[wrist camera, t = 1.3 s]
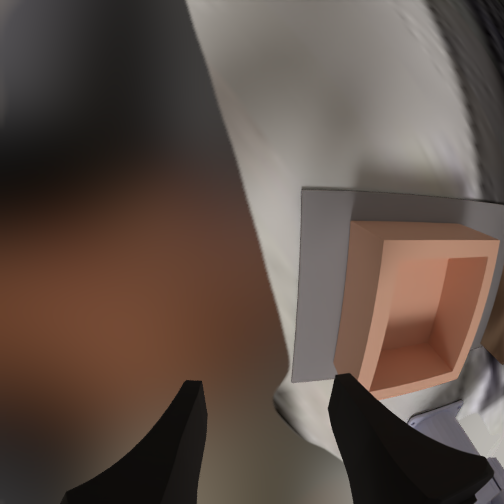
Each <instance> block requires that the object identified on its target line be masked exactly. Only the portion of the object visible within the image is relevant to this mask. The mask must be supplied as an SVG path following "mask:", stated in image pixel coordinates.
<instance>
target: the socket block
mask: <svg viewBox="0 0 504 504" xmlns="http://www.w3.org/2000/svg"><path fill="white" fill-rule="evenodd" d="M499 243H500V240H498V239H496V238H493V237H491V236H489V235H486V234H484V233H481V232H479V231H476V230H474V229H471V228H469V227H466V226H463V225H461V224H455V223H430V222H397V221H351V223H350V237H349V250H348V261H347V271H346V280H345V289H344V297H343V305H342V312H341V319H340V326H339V333H338V339H337V345H336V351H335V357H334V362H333V364H334V366H335V368H336V371H337V373H338V374H345V373H350V374H352V375H353V376H354V377H355V378H356V379H357V380H358V381H359V382H360V383H361V384H362V385H363V386H364V387H365V388H366V389H367V390H368V391H369V392H370V393H371V394H372V395H373V396H374V397H375V398H376V399H377V400H382V399H386V398H391V397H395V396H399V395H403V394H407V393H411V392H415V391H419V390H422V389H426V388H429V387H433V386H436V385H439V384H443V383H446V382H449V381H452V380H455V379H457V378H458V376H459V374H460V372H461V369H462V367H463V365H464V362H465V360H466V358H467V355H468V353H469V350H470V348H471V345H472V343H473V340H474V337H475V334H476V332H477V329H478V326H479V323H480V320H481V317H482V314H483V310H484V307H485V304H486V300H487V297H488V293H489V289H490V286H491V282H492V278H493V273H494V269H495V264H496V260H497V254H498V249H499Z"/></svg>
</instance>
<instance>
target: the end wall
mask: <svg viewBox="0 0 504 504" xmlns="http://www.w3.org/2000/svg"><path fill="white" fill-rule="evenodd" d="M480 344H481V345H482V346H483V347H484V348H485V349H487V350H488V351H489V352H490V353H491V354H492V355H493V356H494V357H495V358H496V359H497V360H498V361H499V362H500V363H501V364H502V365H503V364H504V266H503V271H502V275H501V279H500V283H499V287H498V291H497V294H496V298H495V301H494V305H493V308H492V311H491V314H490V317H489V320H488V323H487V326H486V329H485V332H484V335H483V337H482V340H481V343H480Z"/></svg>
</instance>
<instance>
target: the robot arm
mask: <svg viewBox="0 0 504 504" xmlns="http://www.w3.org/2000/svg"><path fill="white" fill-rule="evenodd" d="M463 403H464V402H463V401H462V400H460V401H457V402H455V403H452V404H449V405H447V406H444V407H441V408H438V409H435V410H432V411H429V412H426V413H423V414H420V415H417V416H414V417H412V418H411V419H410V420H409V422H408V424H407V423H405V422H404V421H402V420H401V419H400V418H399V417H397V416H396V415H395V414H393V413H392V412H391V411H390V410H389V409H387V408H386V407H385V406H384V405H383V404H382V403H381V402H379V401H378V400H377V399H376V398H375V397H374V396H373V395H372V394H371V393H370V392H369V391H368V390H367V389H366V388H365V387H364V386H363V385H362V384H361V383H360V382H359V381H358V380H357V379H356V378H355V377H354V376H353V375H352V374H350V373H345V374H337V375H335V379H334V384H333V389H332V393H331V397H330V402H329V406H328V411H329V417H330V422H331V426H332V430H333V433H334V436H335V439H336V442H337V445H338V448H339V451H340V454H341V456H342V459H343V462H344V465H345V468H346V471H347V474H348V478H349V481H350V487H351V492H352V497H353V503H354V504H504V469H503V467H502V466H501V464H500V463H499V461H498V460H497V459H496V458H491V457H489V458H488V459H486V458H485V457H483V456H480V454H479V453H478V451H477V450H476V448H475V447H474V445H473V443H472V442H471V440H470V439H469V437H468V436H467V434H466V433H465V431H464V430H463V428H462V427H461V425H460V424H459V422H458V421H457V419H456V418H455V417H456V415H457V413H458V412H459V410H460V408H461V407H462V405H463ZM206 433H207V409H206V403H205V397H204V391H203V384H202V381H191V380H186V381H185V382H184V383H183V385H182V387H181V388H180V390H179V392H178V394H177V395H176V396H175V398H174V400H173V401H172V403H171V404H170V406H169V407H168V409H167V410H166V411H165V413H164V414H163V415H162V416H161V418H160V419H159V420H158V422H157V423H156V424H155V425H154V426H153V428H152V429H151V430H150V431H149V433H148V434H147V435H146V436H145V437H144V438H143V439H142V440H141V441H140V442H139V443H138V444H137V445H136V446H135V447H134V448H133V449H132V450H131V451H130V452H129V453H127V454H126V455H125V456H124V457H123V458H121V459H120V460H119V461H118V462H117V463H115V464H114V465H112V466H111V467H110V468H108V469H107V470H105V471H104V472H102V473H101V474H99V475H97V476H96V477H94V478H93V479H91V480H89V481H87V482H85V483H83V484H81V485H79V486H77V487H75V488H73V489H71V490H69V491H67V492H66V493H65V495H64V497H63V499H62V501H61V503H60V504H197V488H198V480H199V474H200V468H201V462H202V457H203V452H204V447H205V441H206Z"/></svg>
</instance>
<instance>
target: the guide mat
mask: <svg viewBox="0 0 504 504" xmlns="http://www.w3.org/2000/svg"><path fill="white" fill-rule="evenodd" d="M351 221H397V222H430V223H455V224H461V225H463V226H466V227H469V228H471V229H474V230H476V231H479V232H481V233H484V234H486V235H489V236H491V237H493V238H496V239H498V240H500V243H499V249H498V254H497V260H496V264H495V269H494V273H493V278H492V282H491V286H490V289H489V293H488V297H487V300H486V304H485V307H484V310H483V314H482V317H481V320H480V323H479V326H478V329H477V332H476V334H475V337H474V340H473V343H472V345H471V348H470V350H473V349H476V348H479V347H482V345H481V344H480V343H481V340H482V337H483V335H484V332H485V329H486V326H487V323H488V320H489V317H490V314H491V311H492V308H493V305H494V301H495V298H496V294H497V291H498V287H499V283H500V279H501V275H502V271H503V266H504V205H500V204H494V203H486V202H479V201H471V200H462V199H453V198H443V197H433V196H422V195H410V194H396V193H381V192H362V191H337V190H302V196H301V238H300V264H299V284H298V302H297V318H296V332H295V345H294V358H293V369H292V380H291V382H292V383H297V382H309V381H319V380H328V379H335V375H337V374H338V373H337V371H336V368H335V366H334V364H333V362H334V357H335V351H336V345H337V339H338V333H339V326H340V319H341V312H342V305H343V297H344V289H345V280H346V271H347V261H348V250H349V237H350V223H351Z"/></svg>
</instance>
